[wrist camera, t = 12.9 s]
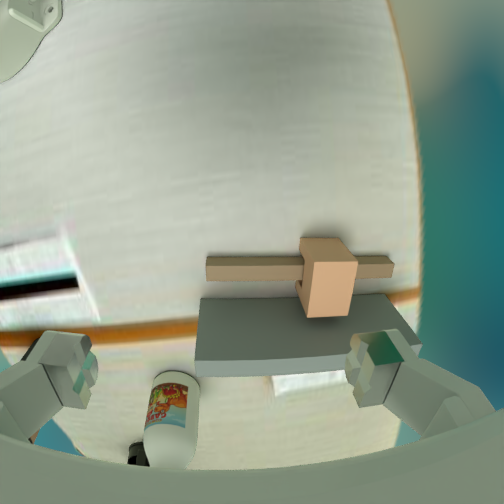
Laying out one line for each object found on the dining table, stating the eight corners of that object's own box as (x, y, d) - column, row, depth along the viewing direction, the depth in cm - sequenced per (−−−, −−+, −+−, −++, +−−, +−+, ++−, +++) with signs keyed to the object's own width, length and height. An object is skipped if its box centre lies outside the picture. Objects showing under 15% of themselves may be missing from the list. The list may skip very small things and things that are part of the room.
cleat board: (198, 257, 40) (189, 311, 29) (392, 255, 42) (437, 300, 31) (201, 313, 43) (196, 376, 32) (380, 307, 45) (416, 358, 34)
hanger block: (300, 237, 40) (314, 261, 33) (338, 237, 40) (358, 261, 34) (295, 287, 42) (307, 317, 36) (331, 286, 43) (347, 315, 36)
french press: (174, 465, 59) (169, 552, 38) (135, 461, 59) (123, 546, 38) (166, 439, 55) (157, 540, 34) (122, 435, 54) (104, 531, 33)
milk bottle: (207, 379, 48) (205, 490, 30) (190, 405, 50) (185, 507, 32) (161, 363, 46) (141, 475, 28) (148, 391, 49) (129, 494, 30)
